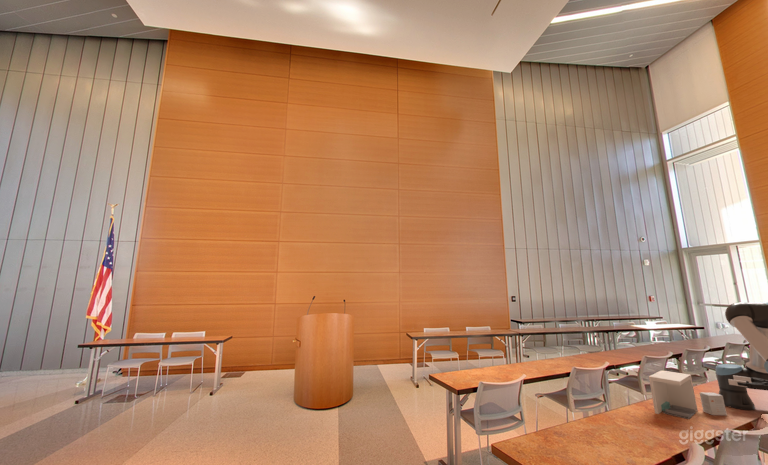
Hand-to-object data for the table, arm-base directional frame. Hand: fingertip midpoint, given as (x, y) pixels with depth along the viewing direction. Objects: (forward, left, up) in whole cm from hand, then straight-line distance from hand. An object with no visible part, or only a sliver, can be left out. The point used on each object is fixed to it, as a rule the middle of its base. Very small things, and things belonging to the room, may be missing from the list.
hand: (731, 379), depth 171 cm
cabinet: (+22, +15, -20) cm, 34 cm away
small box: (+9, 0, -20) cm, 22 cm away
